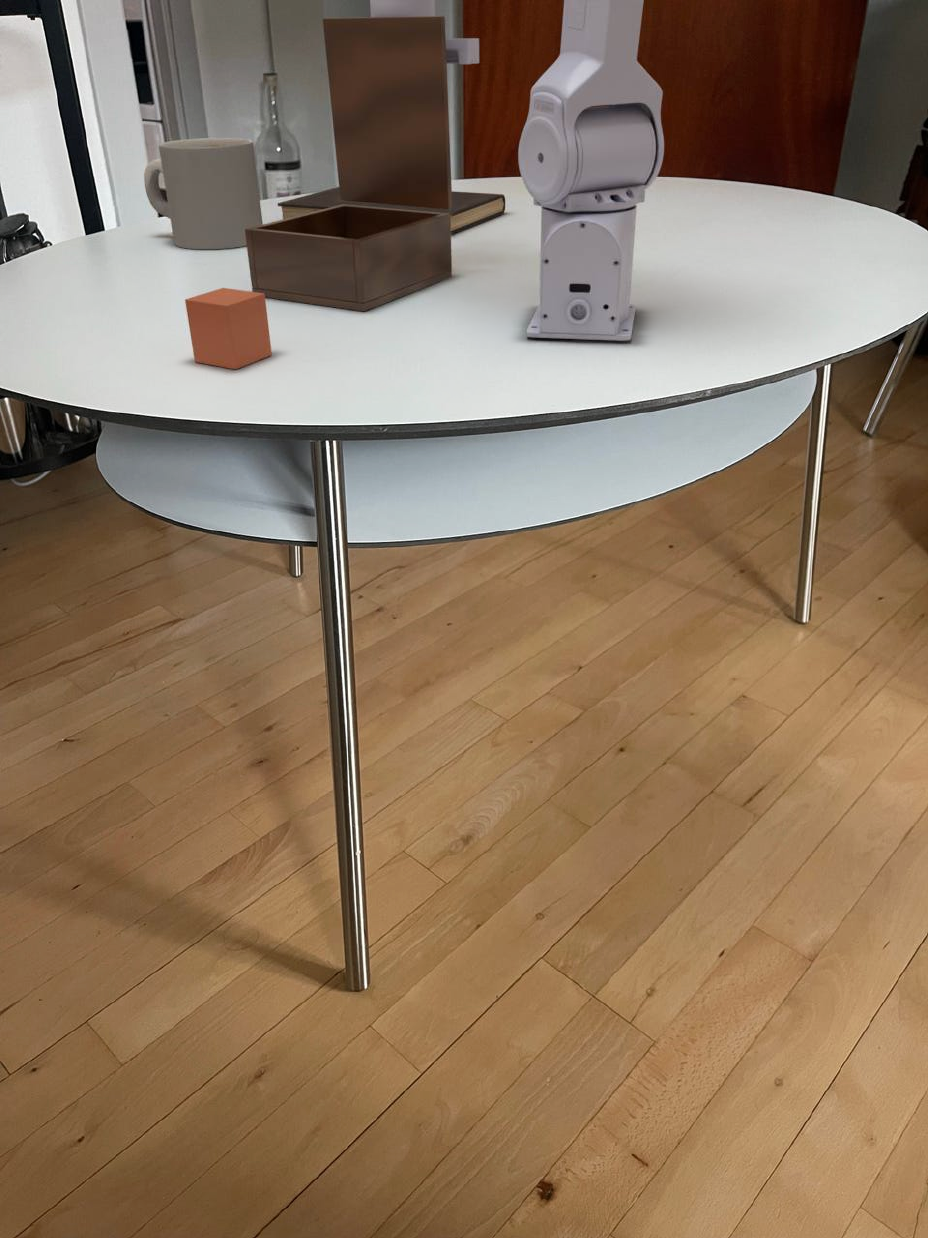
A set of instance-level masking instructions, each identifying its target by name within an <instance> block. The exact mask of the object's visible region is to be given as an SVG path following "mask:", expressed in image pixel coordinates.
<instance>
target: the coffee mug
mask: <svg viewBox="0 0 928 1238" xmlns="http://www.w3.org/2000/svg"><path fill="white" fill-rule="evenodd" d="M254 149H255V147H254V142H253V140H252V139H248V138H243V137H242V138H240V137H204V138H203V137H202V138H188V139H187V138H186V139H179V140H177V139H176V140H169V141H165V142H161V143H159V145H158V150H159V157H160V158H156V159H153V160H151V161H150V162H149V163H148V164H146V166H145V169H144V174H143V179H144V181H143V182H144V189H145V193H146V197H147V199H148V202H149V203H150V205H151V207H152V208H153V209H154V211H156V212H157V213H159V215H161V216H163V217H166V218H168V219H169V220H170V224H171V231H172V236H173V242H174V245H175V246H176V247H178V248H182V249H191V250H225V249H226V250H227V249H234V248H242V247H247V244H246V236H245V229H247V228H251V227H255V226H259V225H263V224H264V223H263V215H262V206H261V199H260V190H259V180H258V174H257V164H256V163H257V162H256V156H255V150H254ZM160 173H161V174H162V176H163V181H164V187H165V192H166V197H167V198H166V199H167V200H166V199H164V197H163V194H162V192H161V188H160V183H159V181H160V180H159V177H160Z"/></svg>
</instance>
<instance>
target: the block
mask: <svg viewBox="0 0 928 1238" xmlns="http://www.w3.org/2000/svg"><path fill="white" fill-rule="evenodd" d="M184 302H185V310H186V315H187V321H188V328H189V333H190V339H191V346H192V353H193V359H194V363H199V364H204V365H210V366H215V367H221V368H227V369H231V370H238V369H241V368H244V367H246V366H248V365H251V364H253V363H256V362H258V361H261V360H263V359H266V358H268V357H270V356H273V353H272V345H271V336H270V328H269V327H270V326H269V319H268V310H267V302H266V297H265V294H264V293H257V292H252V291H250V290H242V289H235V288H228V287H221V288H218V289H214V290H212V291H208V292H205V293H202V294H199V295H196V296H195V295H194V296H191V297H189V298H186V299H184Z"/></svg>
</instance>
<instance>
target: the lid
mask: <svg viewBox="0 0 928 1238" xmlns="http://www.w3.org/2000/svg"><path fill="white" fill-rule="evenodd" d="M322 26H323V27H322V28H323V38H324V48H325V57H326V68H327V77H328V78H327V79H328V87H329V97H330V107H331V118H332V127H333V128H332V129H333V139H334V148H335V158H336V167H337V179H338V187H339V189H340V200H342V201H354V202H366V203H378V204H390V205H402V206H413V207H425V208H437V209H451V208H452V191H453V187H452V165H451V163H452V162H451V139H450V138H451V137H450V116H449V114H450V113H449V91H448V90H449V89H448V67H447V66H448V65H447V64H448V63H447V62H446V38H447V37H446V17H445V15H435V16H423V17H371V16H368V17H367V16H366V17H365V16H364V17H326V18H322Z"/></svg>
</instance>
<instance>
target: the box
mask: <svg viewBox="0 0 928 1238" xmlns="http://www.w3.org/2000/svg"><path fill="white" fill-rule="evenodd" d="M245 236H246V244H247V246H246V250H247V258H248V267H249V275H250V282H251V283H250V284H251V292H257V293H264V294H265V298H267V299H274V300H282V301H288V302H295V303H303V304H309V305H316V306H323V307H330V308H339V309H344V310H350V311H358V312H367V311H369V310H372V309H375V308H377V307H379V306H382V305H385V304H387V303H390V302H392V301H395V300H397V299H400V298H403V297H405V296H407V295H410V294H412V293H415V292H417V291H420V290H422V289H425V288H427V287H430V286H432V285H436V284H438V283H440V282H443V281H445V280H448V279H450V278H453V270H452V269H453V265H452V264H453V261H452V260H453V259H452V235H451V214H449V213H438V212H426V211H414V210H403V209H391V208H380V207H368V206H356V205H345V204H342V205H338V206H334V207H331V208H327V209H323V210H319V211H315V212H311V213H307V214H303V215H299V216H295V217H291V218H287V219H283V218H282V219H280V220H276V221H272V222H267V223H263V225H259V226H255V227H251V228H247V229H245Z"/></svg>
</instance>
